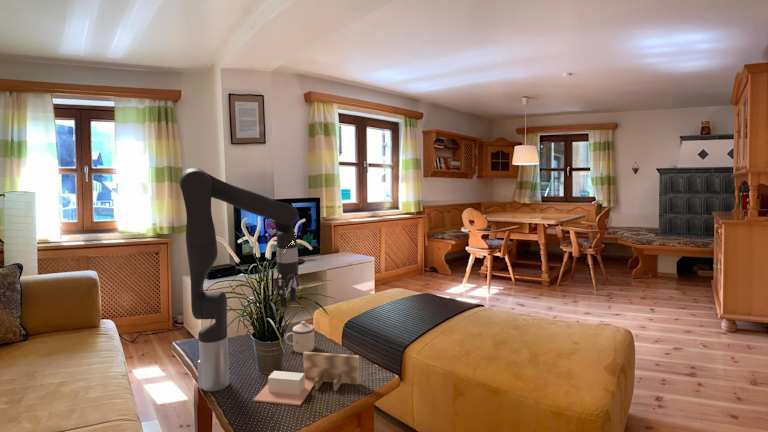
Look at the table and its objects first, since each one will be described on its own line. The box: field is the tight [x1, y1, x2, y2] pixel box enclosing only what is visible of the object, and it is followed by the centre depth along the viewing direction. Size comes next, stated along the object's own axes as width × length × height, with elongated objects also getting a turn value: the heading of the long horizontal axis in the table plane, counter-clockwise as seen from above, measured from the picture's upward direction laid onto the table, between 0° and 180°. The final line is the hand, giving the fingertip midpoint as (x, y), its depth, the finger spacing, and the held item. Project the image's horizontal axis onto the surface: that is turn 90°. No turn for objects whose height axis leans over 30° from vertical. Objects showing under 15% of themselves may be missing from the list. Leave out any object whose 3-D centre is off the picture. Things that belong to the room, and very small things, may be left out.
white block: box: [267, 370, 305, 395], centre depth 148 cm, size 5×11×5 cm, turn 79°
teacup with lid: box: [284, 320, 315, 354], centre depth 182 cm, size 12×9×12 cm
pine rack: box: [302, 351, 360, 393], centre depth 152 cm, size 20×7×10 cm, turn 80°
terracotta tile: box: [252, 379, 315, 407], centre depth 149 cm, size 16×16×1 cm
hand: (288, 303), depth 160 cm, fingers open, 8 cm apart
